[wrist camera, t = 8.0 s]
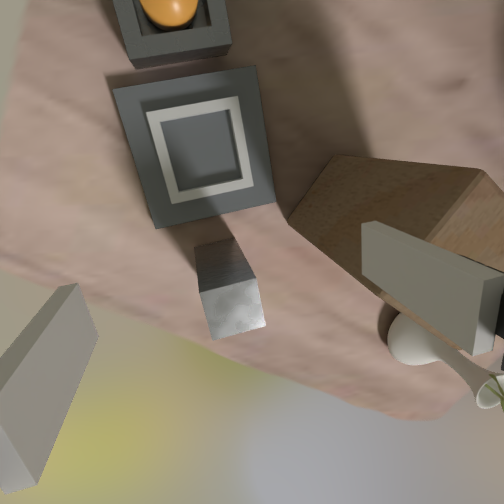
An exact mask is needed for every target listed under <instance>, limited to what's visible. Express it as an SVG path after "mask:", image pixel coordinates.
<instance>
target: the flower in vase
mask: <svg viewBox="0 0 504 504" xmlns="http://www.w3.org/2000/svg"><path fill="white" fill-rule="evenodd" d="M387 340H388V349H389V352H390V354H391V355H392V356H393V357H394V358H395V359H396V360H398V361H400V362H402V363H404V364H407V365H423V364H428V363H431V362H434V361H437V360H440V361H443V362H444V363H446V364H448V365H449V366H450V367H451V368H453V369H454V370H455V371H456V372H457V373H458V374H459V375H460V376H461V377H462V378H463V379H464V380H465V381H466V383H467V384H468V385H469V386H470V388H471V390H472V391H473V394H474V397H475V401H476V404H477V405H478V406H479V407H480V408H491V407H494V406H496V405H498V404H500V403H501V406H502V409H503V411H504V374H502V373H495V372H491V371H488V370H486V369H484V368H482V367H480V366H478V365H476V364H475V363H473V362H472V361H470V360H469V359H467V358H466V357H465V356H463V355H462V354H461V353H460V352H459V351H458V350H457V349H454V348H452V347H451V346H449V345H448V344H446V343H445V342H443V341H442V340H441V339H439V338H438V337H436V336H435V335H433V334H432V333H430V332H429V331H427V330H426V329H424V328H423V327H422V326H420V325H419V324H417V323H416V322H414V321H413V320H411V319H410V318H408V317H407V316H405V315H404V314H402V313H401V312H400V313H399V314H398V315H397V317H396V318H395V319H394V321H393V322H392V324H391V326H390V329H389V332H388V338H387Z"/></svg>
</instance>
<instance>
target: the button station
mask: <svg viewBox="0 0 504 504" xmlns="http://www.w3.org/2000/svg"><path fill="white" fill-rule="evenodd" d="M113 4H114V7H115V11H116V15H117V18H118V22H119V25H120V29H121V32H122V36H123V39H124V43H125V46H126V50H127V53H128V57H129V60H130V62H131V63H132V64H133V66H134V67H135V69H142V68H148V67H155V66H161V65H167V64H173V63H179V62H186V61H192V60H198V59H204V58H210V57H217V56H223V55H227V53H228V51H229V49H230V47H231V45H232V39H231V33H230V27H229V21H228V15H227V10H226V4H225V0H198V6H197V12H196V15H195V17H194V19H193V21H192V22H191V24H190V25H189V26H187V27H186V28H185V29H183V30H181V31H175V32H168V31H164V30H162V29H160V28H158V27H156V26H155V25H154V24H153V23H152V22H151V21H150V20H149V19H148V18H147V17H146V15H145V14H144V12H143V10H142V7H141V5H140V2H139V0H113Z"/></svg>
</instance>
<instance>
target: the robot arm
mask: <svg viewBox="0 0 504 504" xmlns="http://www.w3.org/2000/svg"><path fill="white" fill-rule="evenodd" d="M361 236H362V275H364V276H365V277H366V278H368V279H369V280H370V281H372V282H373V283H374V284H376V285H377V286H378V287H380V288H381V289H382V290H384V291H385V292H386V293H388V294H389V295H391V296H392V297H393V298H395V299H396V300H397V301H399V302H400V303H401V304H403V305H404V306H405V307H407V308H408V309H409V310H411V311H412V312H413V313H415V314H416V315H418V316H419V317H420V318H422V319H423V320H424V321H426V322H427V323H428V324H430V325H431V326H432V327H434V328H435V329H436V330H438V331H439V332H440V333H442V334H443V335H444V336H446V337H447V338H449V339H450V340H451V341H453V342H454V343H455V344H457V345H458V346H459V347H461V348H462V349H463V350H465V351H466V352H467V353H469V354H470V355H471V356H475V355H478V354H482V353H485V352H489V351H492V350H493V346H494V340H495V335H496V334H497V335H498V336H500V337H501V338H503V339H504V272H502V271H499V270H497V269H495V268H492V267H490V266H485V264H482V263H480V262H478V261H476V262H475V260H473V259H470V258H468V257H465V256H463V255H459V254H455V253H452V252H450V251H448V250H445V249H443V248H440V247H438V246H436V245H433V244H431V243H428V242H426V241H424V240H421V239H419V238H416V237H414V236H411V235H409V234H407V233H404V232H402V231H399V230H397V229H395V228H392V227H390V226H387V225H385V224H383V223H380V222H378V221H372V222H367V223H362V224H361ZM98 337H99V335H98V333H97V330H96V327H95V325H94V322H93V320H92V317H91V315H90V312H89V310H88V307H87V304H86V302H85V299H84V297H83V294H82V291H81V289H80V286H79V284H78V283H75V284H70V285H65V286H60V287H58V289H57V290H56V291H55V292H54V293H53V295H52V296H51V297H50V298H49V300H48V301H47V302H46V303H45V304H44V306H43V307H42V308H41V309H40V310H39V312H38V313H37V314H36V316H34V318H33V319H32V320H31V321H30V323H29V324H28V325H27V326H26V327H25V329H24V330H23V331H22V332H21V333H20V335H19V336H18V337H17V338H16V340H15V341H14V342H13V343H12V344H11V346H10V347H9V348H8V349H7V350H6V352H5V353H4V354H3V355H2V356H1V358H0V488H1V489H2V491H3V492H4V494H9V493H12V492H15V491H19V490H22V489H26V488H29V487H32V486H35V485H37V484H38V482H39V479H40V477H41V474H42V472H43V470H44V467H45V465H46V462H47V460H48V458H49V455H50V453H51V450H52V448H53V446H54V443H55V441H56V438H57V436H58V433H59V431H60V429H61V426H62V424H63V421H64V419H65V417H66V414H67V412H68V409H69V407H70V404H71V402H72V400H73V397H74V395H75V393H76V390H77V388H78V385H79V383H80V381H81V378H82V376H83V373H84V371H85V368H86V366H87V364H88V361H89V359H90V356H91V354H92V351H93V349H94V347H95V344H96V342H97V340H98ZM501 370H503V371H504V355H503V360H502V365H501Z"/></svg>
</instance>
